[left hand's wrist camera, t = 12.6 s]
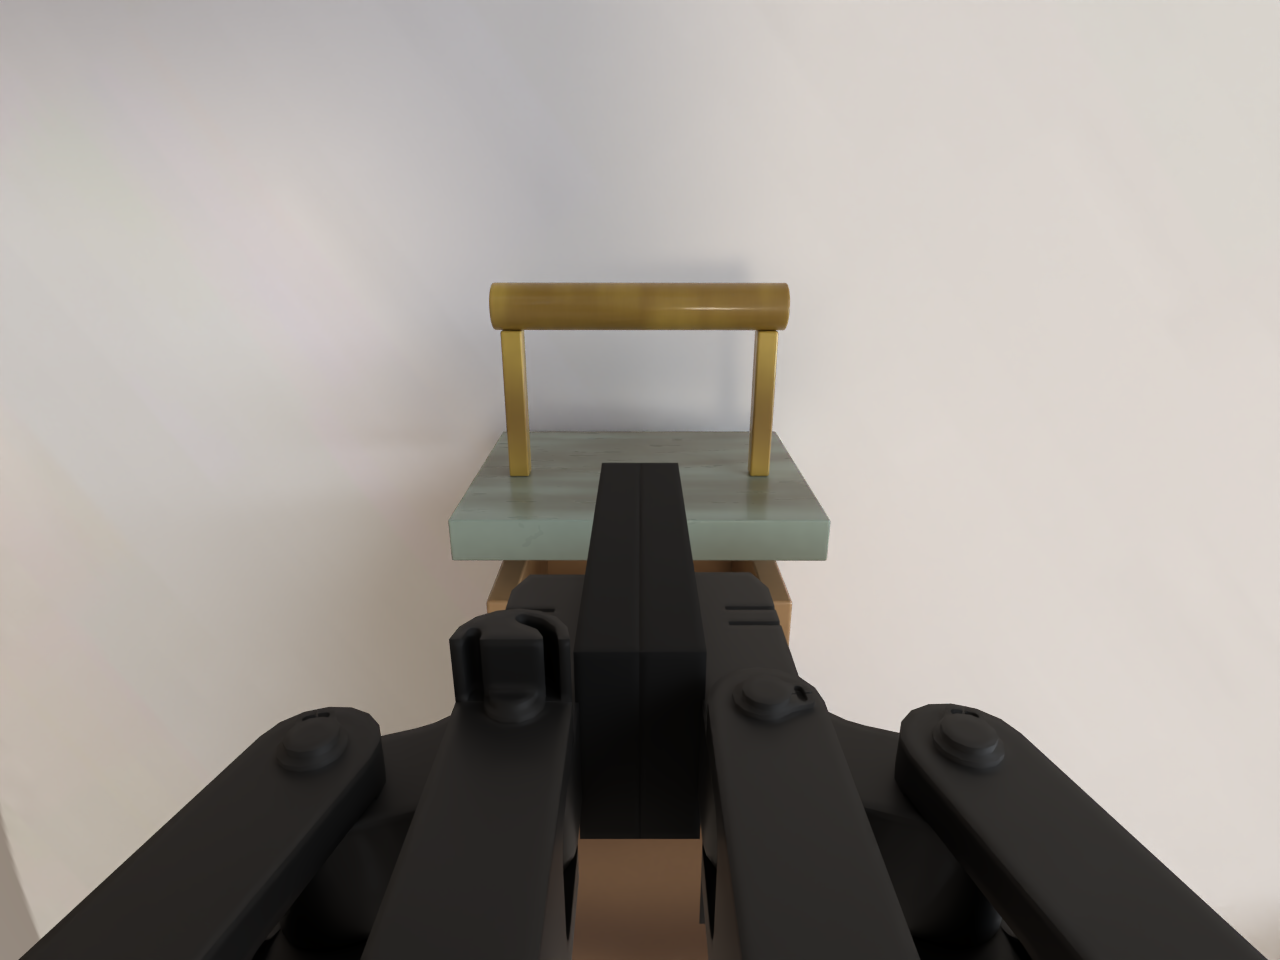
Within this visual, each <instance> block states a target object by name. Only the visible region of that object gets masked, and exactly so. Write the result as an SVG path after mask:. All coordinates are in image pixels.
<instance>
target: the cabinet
mask: <svg viewBox="0 0 1280 960" xmlns="http://www.w3.org/2000/svg"><path fill="white" fill-rule="evenodd" d="M578 864H579V882H578V894H577V905H576V916H575V928H574V939H573V950H572V960H708V949H707V938H706V927H705V924H699V916H700V890H701V864H702V833H701V823H700V839H580V826H579V837H578Z"/></svg>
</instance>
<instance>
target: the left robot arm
mask: <svg viewBox="0 0 1280 960" xmlns="http://www.w3.org/2000/svg"><path fill="white" fill-rule="evenodd" d="M449 643H450V652H451V662H452V671H453V681H454V690H455V700H456V703H455V706H454V708H453V711H452V714H451V716H449V717H446V718H444V719H442V720H440V721H438V722H436V723H433V724H430V725H426V726H423V727H419V728H416V729H411V730H407V731H402V732H398V733H393V734H388V735H384V736H381V734H380V727H379V724H378V723H377V722H376V721H375V720H374V719H373V718H372V716H371V715H370V714H368V713H366V712H363V711H360V710H357V709H354V708H350V707H327V708H322V709H317V710H312V711H307V712H303V713H301V714H299V715H296V716H294V717H291V718H289V719H287V720H284V721H282V722H280V723H278V724H277V725H276V726H274V727H273V728H271V729H270V730H269V731H267V732H266V733H264V734H263V735H262V736H260V737H259V738H258V739H257V740H256V741H255V742H254V743H252V744H251V745H250V746H249V747H248V748H247V749H246V750H245V751H244V752H243V753H242V754H241V755H239V756H238V757H237V758H236V759H235V760H234V761H233V762H232V763H231V764H230V765H229V766H228V767H227V768H225V769H224V770H223V771H222V772H221V773H220V774H219V775H218V776H217V777H216V778H215V779H214V780H212V781H211V782H210V783H209V784H208V785H207V786H206V787H205V788H204V789H203V790H202V791H201V792H199V793H198V794H197V795H196V796H195V797H194V798H193V799H192V800H191V801H190V802H189V803H188V804H187V805H185V806H184V807H183V808H182V809H181V810H180V811H179V812H178V813H177V814H176V815H175V816H174V817H172V818H171V819H170V820H169V821H168V822H167V823H166V824H165V825H164V826H163V827H162V828H161V829H159V830H158V831H157V832H156V833H155V834H154V835H153V836H152V837H151V838H150V839H149V840H148V841H146V842H145V843H144V844H143V845H142V846H141V847H140V848H139V849H138V850H137V851H136V852H135V853H134V854H132V855H131V856H130V857H129V858H128V859H127V860H126V861H125V862H124V863H123V864H122V865H121V866H119V867H118V868H117V869H116V870H115V871H114V872H113V873H112V874H111V875H110V876H109V877H108V878H106V879H105V880H104V881H103V882H102V883H101V884H100V885H99V886H98V887H97V888H96V889H95V890H94V891H92V892H91V893H90V894H89V895H88V896H87V897H86V898H85V899H84V900H83V901H82V902H81V903H79V904H78V905H77V906H76V907H75V908H74V909H73V910H72V911H71V912H70V913H69V914H68V915H66V916H65V917H64V918H63V919H62V920H61V921H60V922H59V923H58V924H57V925H56V926H55V927H54V928H52V929H51V930H50V931H49V932H48V933H47V934H46V935H45V936H44V937H43V938H42V939H41V940H39V941H38V942H37V943H36V944H35V945H34V946H33V947H32V948H31V949H30V950H29V951H28V952H26V953H25V954H24V955H23V956H22V957H21V958H20V959H19V960H572V950H573V939H574V928H575V916H576V905H577V894H578V882H579V864H578V837H579V826H580V839H700V823H701V833H702V864H701V890H700V916H699V924H705V927H706V938H707V949H708V960H1267V959H1266V958H1265V957H1264V956H1263V955H1262V954H1261V953H1260V952H1259V951H1258V950H1257V949H1255V948H1254V947H1253V946H1252V945H1251V944H1250V943H1249V942H1248V941H1247V940H1246V939H1245V938H1243V937H1242V936H1241V935H1240V934H1239V933H1238V932H1237V931H1236V930H1235V929H1234V928H1233V927H1231V926H1230V925H1229V924H1228V923H1227V922H1226V921H1225V920H1224V919H1223V918H1222V917H1221V916H1219V915H1218V914H1217V913H1216V912H1215V911H1214V910H1213V909H1212V908H1211V907H1210V906H1209V905H1207V904H1206V903H1205V902H1204V901H1203V900H1202V899H1201V898H1200V897H1199V896H1198V895H1197V894H1196V893H1194V892H1193V891H1192V890H1191V889H1190V888H1189V887H1188V886H1187V885H1186V884H1185V883H1184V882H1182V881H1181V880H1180V879H1179V878H1178V877H1177V876H1176V875H1175V874H1174V873H1173V872H1172V871H1170V870H1169V869H1168V868H1167V867H1166V866H1165V865H1164V864H1163V863H1162V862H1161V861H1160V860H1158V859H1157V858H1156V857H1155V856H1154V855H1153V854H1152V853H1151V852H1150V851H1149V850H1148V849H1146V848H1145V847H1144V846H1143V845H1142V844H1141V843H1140V842H1139V841H1138V840H1137V839H1136V838H1134V837H1133V836H1132V835H1131V834H1130V833H1129V832H1128V831H1127V830H1126V829H1125V828H1124V827H1122V826H1121V825H1120V824H1119V823H1118V822H1117V821H1116V820H1115V819H1114V818H1113V817H1112V816H1110V815H1109V814H1108V813H1107V812H1106V811H1105V810H1104V809H1103V808H1102V807H1101V806H1100V805H1099V804H1097V803H1096V802H1095V801H1094V800H1093V799H1092V798H1091V797H1090V796H1089V795H1088V794H1087V793H1085V792H1084V791H1083V790H1082V789H1081V788H1080V787H1079V786H1078V785H1077V784H1076V783H1075V782H1073V781H1072V780H1071V779H1070V778H1069V777H1068V776H1067V775H1066V774H1065V773H1064V772H1063V771H1061V770H1060V769H1059V768H1058V767H1057V766H1056V765H1055V764H1054V763H1053V762H1052V761H1051V760H1049V759H1048V758H1047V757H1046V756H1045V755H1044V754H1043V753H1042V752H1041V751H1040V750H1039V749H1037V748H1036V747H1035V746H1034V745H1033V744H1032V743H1031V742H1030V741H1029V740H1028V739H1027V738H1025V737H1024V736H1023V735H1022V734H1021V733H1020V732H1018V731H1017V730H1015V729H1014V728H1013V727H1011V726H1010V725H1008V724H1007V723H1006V722H1004V721H1003V720H1001V719H999V718H997V717H995V716H992V715H990V714H988V713H985V712H983V711H980V710H978V709H975V708H970V707H966V706H960V705H955V704H928V705H925V706H923V707H920V708H917V709H914V710H911V711H910V713H909V714H908V715H907V716H906V717H905V718H904V719H903V720H902V722H901V727H900V733H897V732H892V731H888V730H883V729H878V728H874V727H869V726H865V725H861V724H858V723H854V722H851V721H848V720H845V719H843V718H840V717H838V716H836V715H834V714H832V713H830V712H828V710H827V707H826V705H825V702H824V700H823V699H822V697H821V696H820V694H819V693H818V691H817V690H816V689H815V687H813V686H812V685H810V684H809V683H807V682H806V681H804V680H803V679H802V678H800V677H799V676H798V673H797V670H796V667H795V664H794V661H793V658H792V655H791V652H790V650H789V647H788V644H787V641H786V638H785V635H784V632H783V629H782V626H781V625H780V620H779V617H778V614H777V611H776V610H775V606H774V603H773V600H772V597H771V594H770V591H769V588H768V587H767V586H766V585H765V584H763V583H762V582H761V581H760V580H759V579H758V578H756V577H755V576H754V575H753V574H752V573H751V572H695V571H694V564H693V558H692V551H691V545H690V538H689V531H688V525H687V518H686V512H685V505H684V498H683V492H682V485H681V479H680V472H679V465H678V463H602V465H601V472H600V479H599V485H598V492H597V498H596V505H595V512H594V518H593V525H592V531H591V538H590V545H589V551H588V558H587V564H586V571H585V575H531V574H530V575H529V576H528V577H527V578H525V579H524V580H523V581H522V582H521V583H520V584H518V585H517V586H516V587H515V588H514V589H513V590H512V591H511V594H510V597H509V600H508V603H507V606H506V609H505V610H499V611H494V612H491V613H487V614H484V615H481V616H478V617H475V618H473V619H472V620H470V621H468V622H467V623H465V624H463V625H462V626H460V627H459V628H458V629H457V630H456V632H455V633H454V634H453V635H452V636H451V638H450V639H449Z"/></svg>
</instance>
